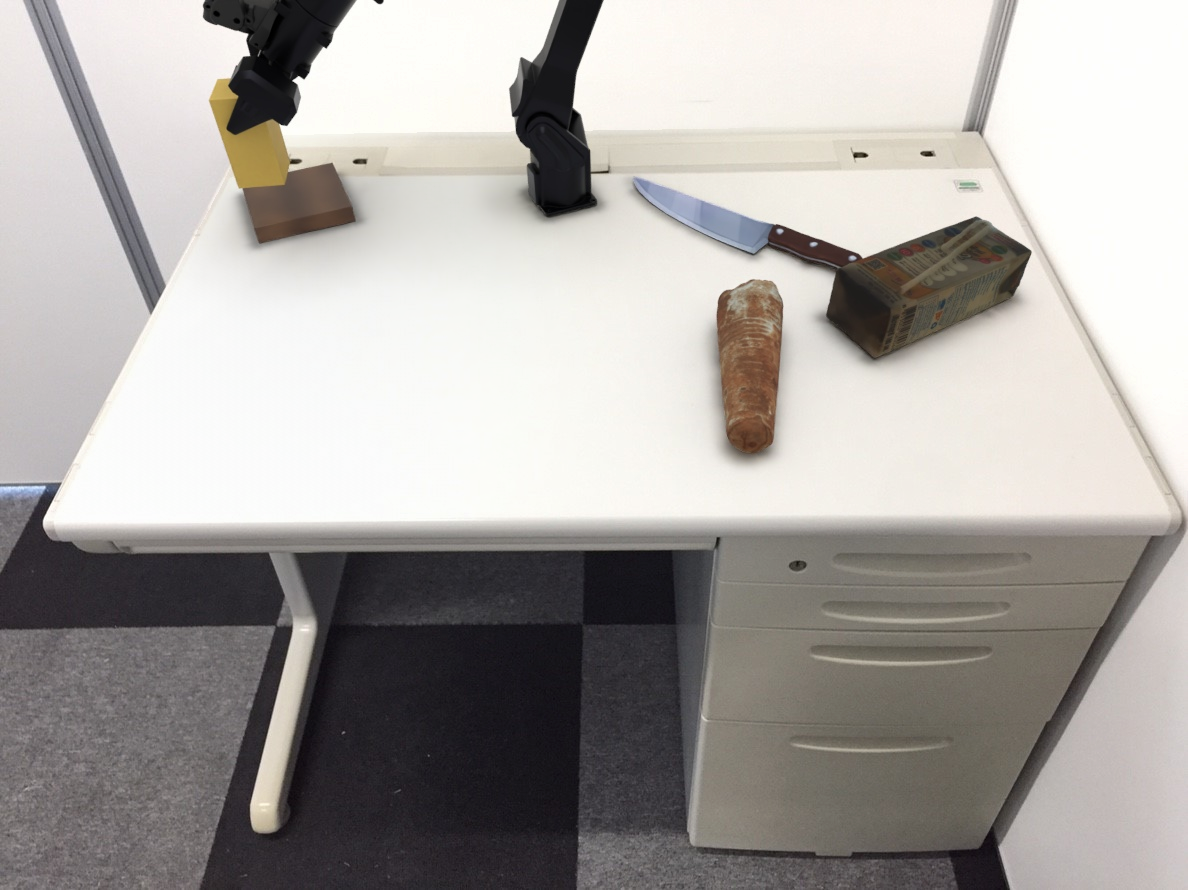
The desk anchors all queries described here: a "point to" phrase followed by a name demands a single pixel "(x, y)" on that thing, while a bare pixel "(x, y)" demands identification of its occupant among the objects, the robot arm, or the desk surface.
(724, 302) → the orange-brown tapered rod
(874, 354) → the beverage carton
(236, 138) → the butter
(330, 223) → the cutting board
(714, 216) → the kitchen knife
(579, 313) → the desk surface
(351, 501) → the desk surface
